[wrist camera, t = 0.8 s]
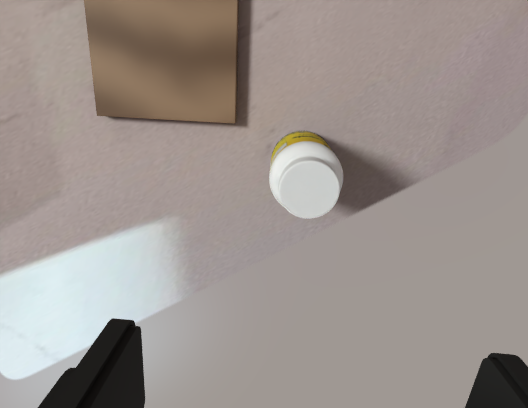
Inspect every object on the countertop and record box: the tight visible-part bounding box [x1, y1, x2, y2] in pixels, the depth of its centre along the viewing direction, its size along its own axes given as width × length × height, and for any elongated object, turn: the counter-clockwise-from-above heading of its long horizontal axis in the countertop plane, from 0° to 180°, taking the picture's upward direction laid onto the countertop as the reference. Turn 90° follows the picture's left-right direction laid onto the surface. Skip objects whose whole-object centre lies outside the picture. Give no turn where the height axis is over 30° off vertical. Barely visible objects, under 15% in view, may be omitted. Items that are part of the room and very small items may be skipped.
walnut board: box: [84, 0, 239, 123], centre depth 28 cm, size 12×12×1 cm
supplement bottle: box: [269, 131, 343, 219], centre depth 27 cm, size 5×5×10 cm
